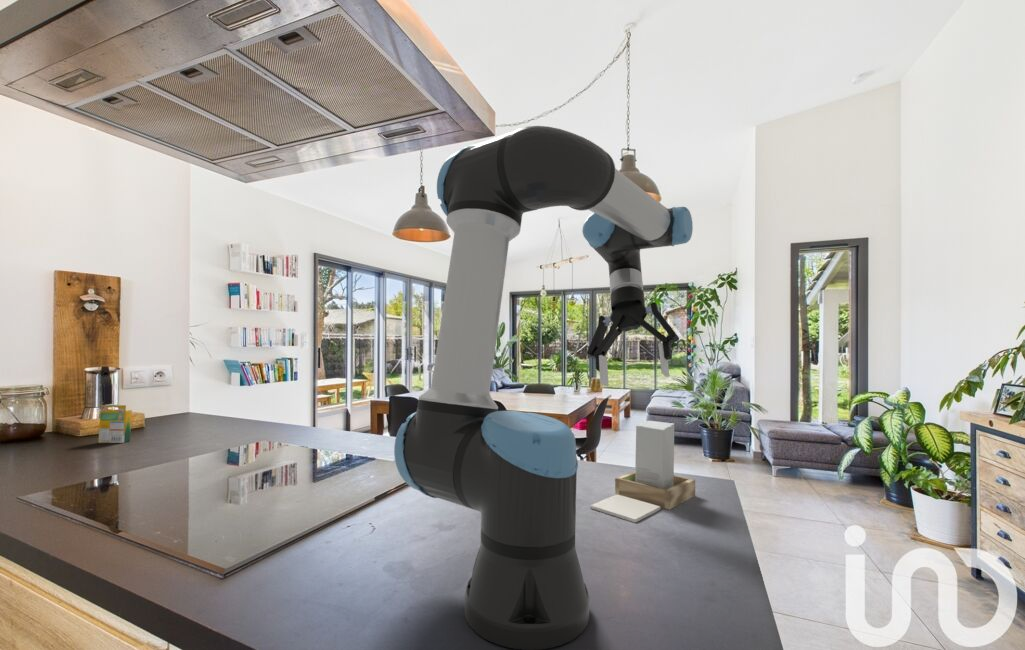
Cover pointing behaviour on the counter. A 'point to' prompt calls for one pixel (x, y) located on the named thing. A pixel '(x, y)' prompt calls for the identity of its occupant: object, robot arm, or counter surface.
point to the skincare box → (655, 454)
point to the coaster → (625, 508)
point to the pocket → (656, 491)
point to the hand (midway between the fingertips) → (633, 380)
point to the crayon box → (114, 424)
